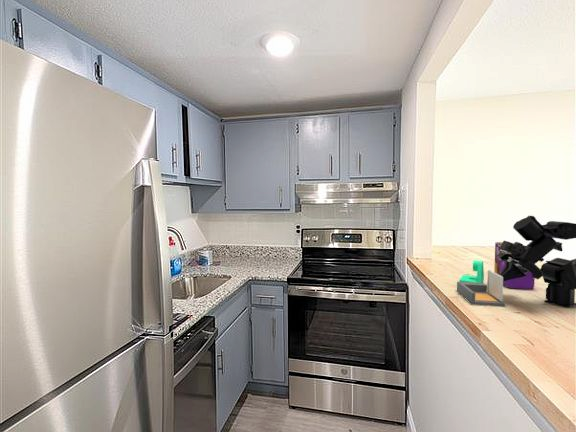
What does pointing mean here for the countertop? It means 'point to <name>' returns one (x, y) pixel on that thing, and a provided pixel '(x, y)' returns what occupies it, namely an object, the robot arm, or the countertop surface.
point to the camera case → (477, 294)
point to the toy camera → (519, 281)
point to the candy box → (497, 259)
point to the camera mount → (480, 273)
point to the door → (495, 285)
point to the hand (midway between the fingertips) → (498, 280)
